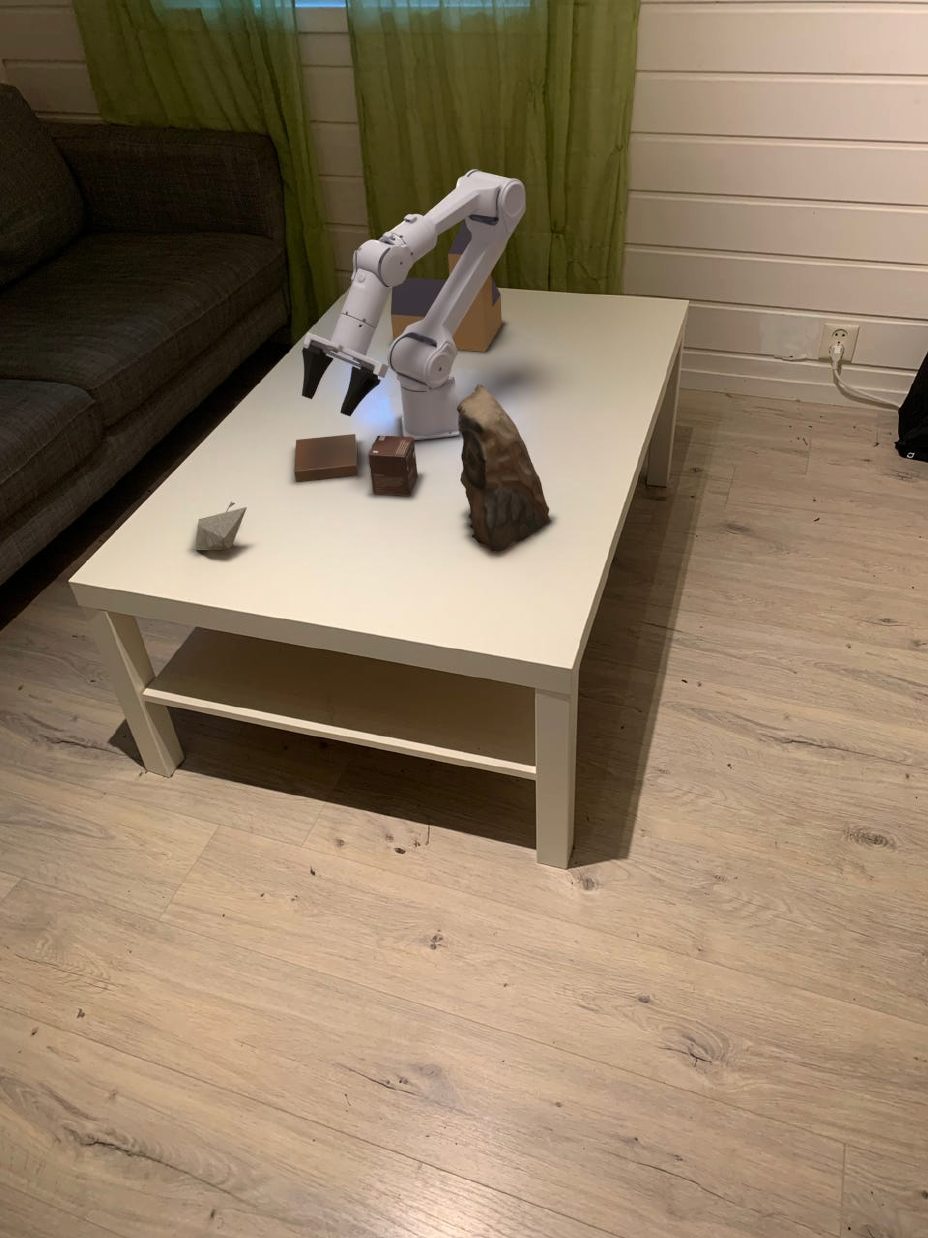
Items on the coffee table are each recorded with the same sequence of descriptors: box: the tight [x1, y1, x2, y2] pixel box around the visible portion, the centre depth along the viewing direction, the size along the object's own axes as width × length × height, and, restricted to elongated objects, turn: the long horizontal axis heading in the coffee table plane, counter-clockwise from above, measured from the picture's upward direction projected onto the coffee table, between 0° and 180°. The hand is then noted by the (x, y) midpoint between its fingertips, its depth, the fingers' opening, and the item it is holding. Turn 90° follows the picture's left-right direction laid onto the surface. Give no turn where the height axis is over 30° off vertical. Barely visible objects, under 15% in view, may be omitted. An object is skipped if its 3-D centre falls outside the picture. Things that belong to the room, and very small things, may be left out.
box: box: [367, 435, 419, 496], centre depth 158 cm, size 6×6×7 cm
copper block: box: [293, 433, 359, 483], centre depth 166 cm, size 10×10×2 cm
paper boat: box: [195, 501, 248, 551], centre depth 149 cm, size 12×6×9 cm
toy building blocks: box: [390, 219, 503, 353], centre depth 192 cm, size 12×19×25 cm
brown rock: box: [457, 383, 551, 553], centre depth 144 cm, size 13×13×20 cm
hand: (325, 406), depth 154 cm, fingers open, 7 cm apart
